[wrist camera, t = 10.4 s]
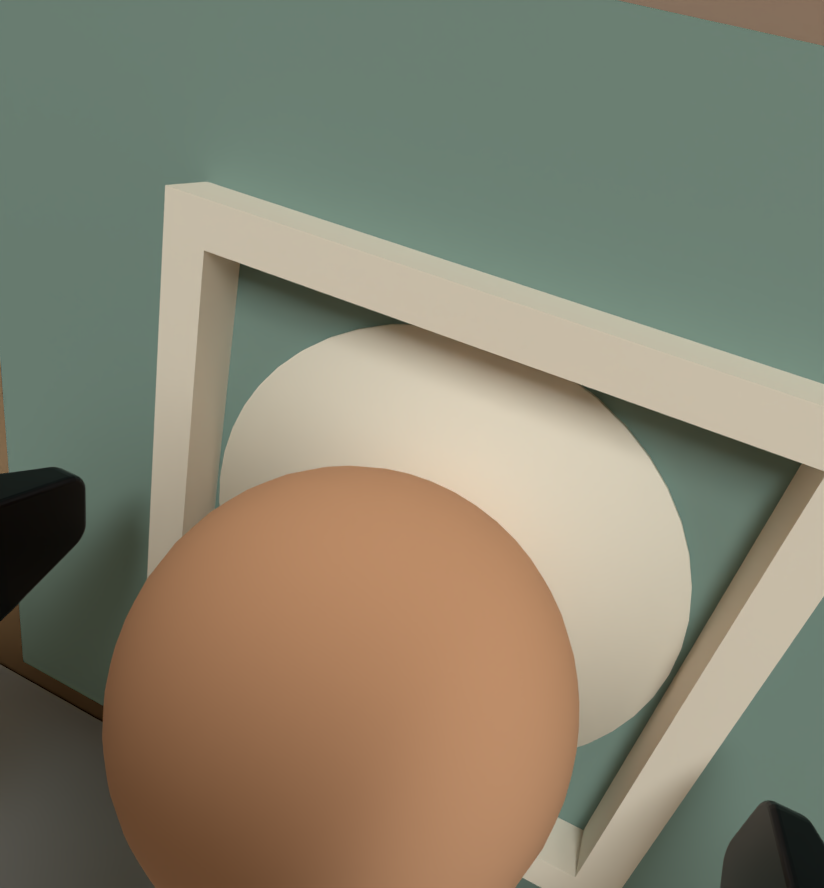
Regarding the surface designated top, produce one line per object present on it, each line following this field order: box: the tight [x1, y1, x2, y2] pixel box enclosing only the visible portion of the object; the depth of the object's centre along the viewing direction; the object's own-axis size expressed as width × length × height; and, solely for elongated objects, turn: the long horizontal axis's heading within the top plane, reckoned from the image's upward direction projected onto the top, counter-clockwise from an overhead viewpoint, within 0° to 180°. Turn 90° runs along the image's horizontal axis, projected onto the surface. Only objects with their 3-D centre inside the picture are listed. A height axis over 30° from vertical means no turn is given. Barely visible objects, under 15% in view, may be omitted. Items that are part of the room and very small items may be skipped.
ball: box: [102, 466, 579, 888], centre depth 8 cm, size 5×5×5 cm
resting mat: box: [0, 0, 824, 888], centre depth 10 cm, size 16×14×1 cm
